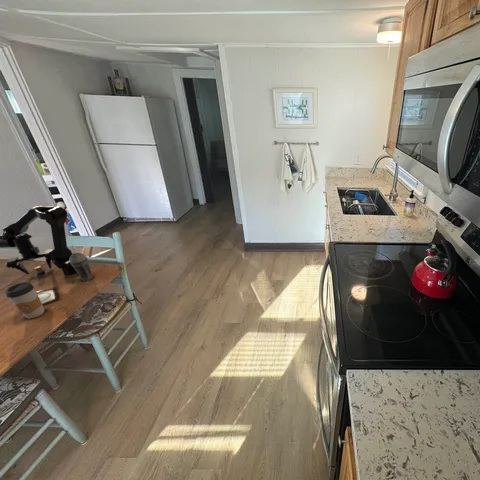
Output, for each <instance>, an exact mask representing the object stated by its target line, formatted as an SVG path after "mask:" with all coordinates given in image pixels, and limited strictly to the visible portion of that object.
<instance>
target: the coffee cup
mask: <svg viewBox="0 0 480 480" xmlns="http://www.w3.org/2000/svg"><path fill="white" fill-rule="evenodd" d="M36 292H37V291H36V290H35V286H34V285H33V284H32V283H30V282H28V281H25V282H19V283H16V284H13V285H11V286H10V287H8V288H6V290H5V296H6V298H8V299H9V300H10V301H11V302H12V304H13V305H14V306H15V308H17V310H18V311H19V312H20V313H21V314H22V315H23V316H24V317H25V319H30V320H31V319H34V318H35V319H36V318H37V317H40V316H41V315H43V314H44V313H45V307H44V305H42V303H41V301H40V299H39V297H38V295H37V293H36Z"/></svg>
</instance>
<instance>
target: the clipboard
mask: <svg viewBox="0 0 480 480" xmlns="http://www.w3.org/2000/svg"><path fill="white" fill-rule="evenodd" d="M36 293H37V295H38V297H39V299H40V301H41V303H42V305H43V306H45V305H47V304H51V303H53V302H56V301H58V300H59V299H58V295H57V292H56V289H55V288H53V289H48V290H44V289H41V290H37V291H36Z"/></svg>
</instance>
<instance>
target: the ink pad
mask: <svg viewBox="0 0 480 480" xmlns="http://www.w3.org/2000/svg"><path fill="white" fill-rule="evenodd" d="M51 269H52V268H51ZM51 269H50V268H49V269H45V270H44V269H43V270H44V271H45V273H43V274H41V275H37V272H36V271H35V273H34V274H33V275H32V276H31V278H37V277H43V276H46V275H47V274H48V273H49V272H50V271H51Z"/></svg>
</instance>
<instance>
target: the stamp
mask: <svg viewBox="0 0 480 480" xmlns="http://www.w3.org/2000/svg"><path fill="white" fill-rule="evenodd" d="M34 270H35V273H36V272H37V275H41V274H43V273H45V271H44V269H43V267H42V265H37V266H35V267H34Z"/></svg>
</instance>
